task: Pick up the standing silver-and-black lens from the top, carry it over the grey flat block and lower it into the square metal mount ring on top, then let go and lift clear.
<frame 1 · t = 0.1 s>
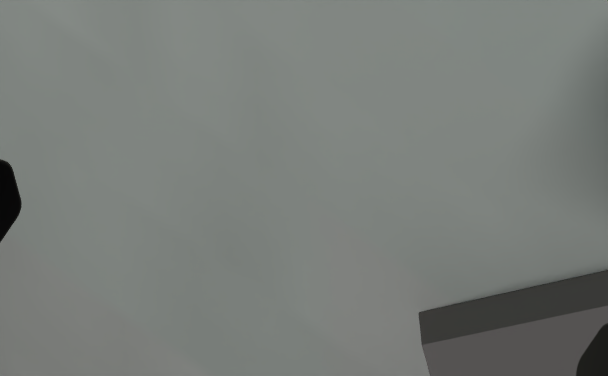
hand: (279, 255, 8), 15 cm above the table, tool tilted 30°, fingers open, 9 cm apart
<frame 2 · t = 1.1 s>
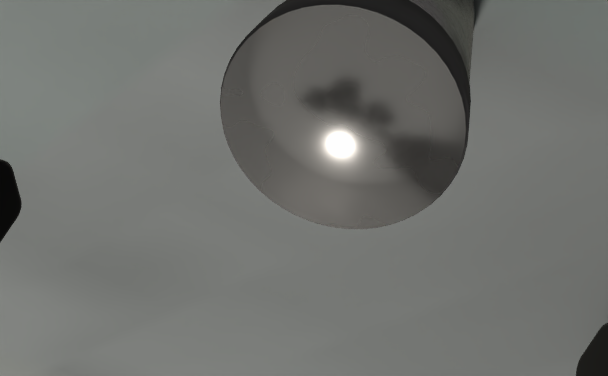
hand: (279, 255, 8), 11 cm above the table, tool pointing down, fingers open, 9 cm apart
lens: (387, 19, 16), on the table
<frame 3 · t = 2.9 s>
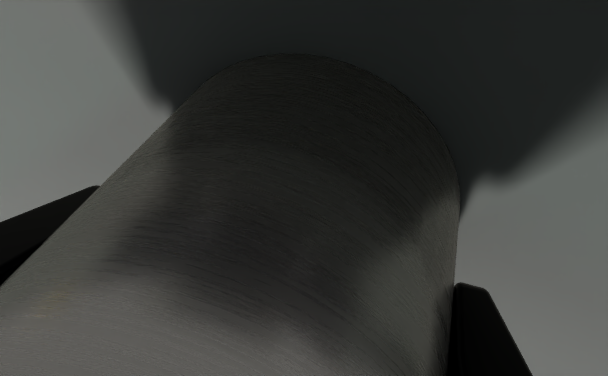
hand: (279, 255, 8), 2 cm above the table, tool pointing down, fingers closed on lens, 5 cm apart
lens: (307, 195, 9), on the table, touching gripper
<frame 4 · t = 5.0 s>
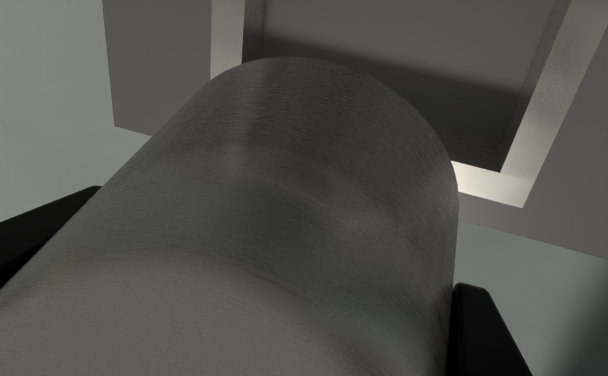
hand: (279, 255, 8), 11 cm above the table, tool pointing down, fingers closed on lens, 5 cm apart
lens: (306, 197, 9), point 10 cm above the table, touching gripper
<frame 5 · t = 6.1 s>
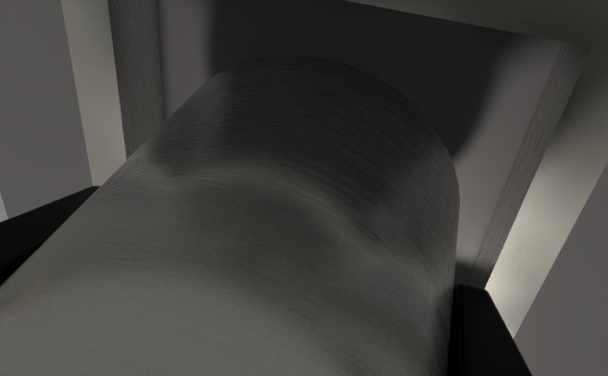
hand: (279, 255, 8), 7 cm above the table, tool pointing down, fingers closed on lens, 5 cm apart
lens: (306, 196, 9), point 5 cm above the table, touching gripper
grey flat block: (363, 66, 13), on the table
when the fingers open (6 cm above the table, at t = 7.1 s): lens stays where it is, resting on grey flat block.
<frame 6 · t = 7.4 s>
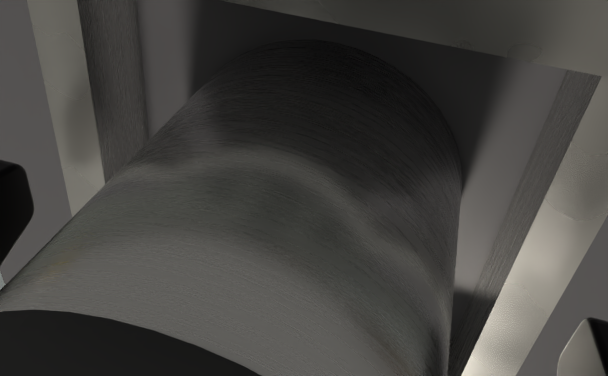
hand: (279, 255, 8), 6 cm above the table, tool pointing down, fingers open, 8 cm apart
lens: (317, 175, 10), point 4 cm above the table, touching grey flat block
grey flat block: (358, 81, 13), on the table
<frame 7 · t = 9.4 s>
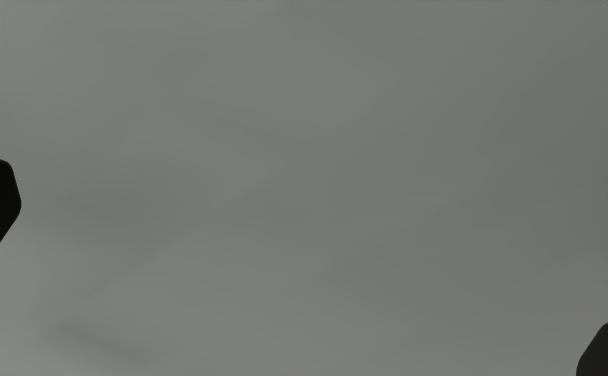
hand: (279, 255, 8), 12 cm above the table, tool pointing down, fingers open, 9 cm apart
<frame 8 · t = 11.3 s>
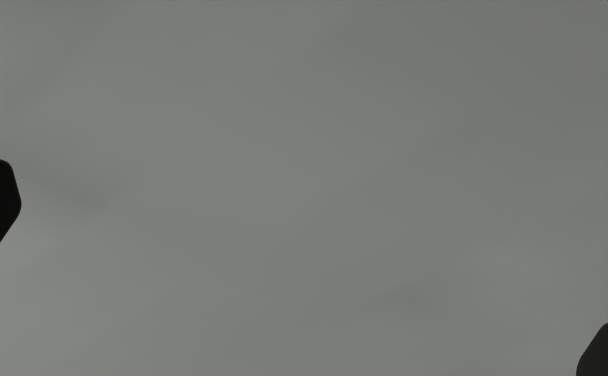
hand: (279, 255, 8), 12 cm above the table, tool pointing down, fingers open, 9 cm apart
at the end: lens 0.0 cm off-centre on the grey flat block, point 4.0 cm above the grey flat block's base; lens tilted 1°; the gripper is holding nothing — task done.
